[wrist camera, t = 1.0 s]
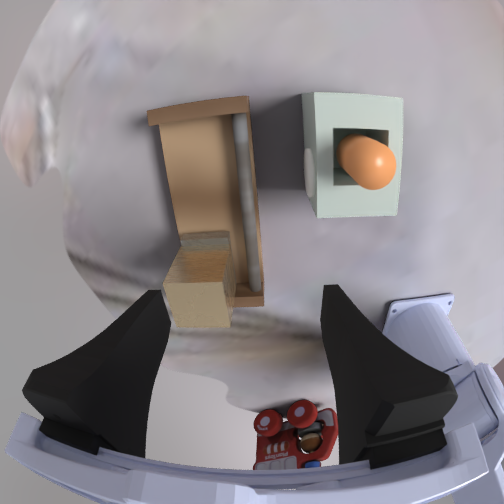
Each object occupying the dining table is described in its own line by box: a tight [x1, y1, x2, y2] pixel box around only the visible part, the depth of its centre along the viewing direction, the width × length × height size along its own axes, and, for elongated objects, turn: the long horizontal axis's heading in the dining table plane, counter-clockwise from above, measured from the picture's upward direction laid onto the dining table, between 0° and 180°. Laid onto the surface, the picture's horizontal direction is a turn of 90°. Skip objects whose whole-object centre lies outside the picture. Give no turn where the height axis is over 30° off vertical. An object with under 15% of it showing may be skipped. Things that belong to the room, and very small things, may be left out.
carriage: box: [163, 231, 237, 328], centre depth 20 cm, size 5×4×5 cm
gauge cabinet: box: [302, 92, 403, 218], centre depth 16 cm, size 7×5×5 cm
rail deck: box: [147, 96, 264, 307], centre depth 20 cm, size 15×6×3 cm, turn 5°
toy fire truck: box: [253, 400, 338, 470], centre depth 32 cm, size 7×12×10 cm, turn 122°
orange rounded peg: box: [336, 133, 396, 190], centre depth 14 cm, size 2×2×3 cm
